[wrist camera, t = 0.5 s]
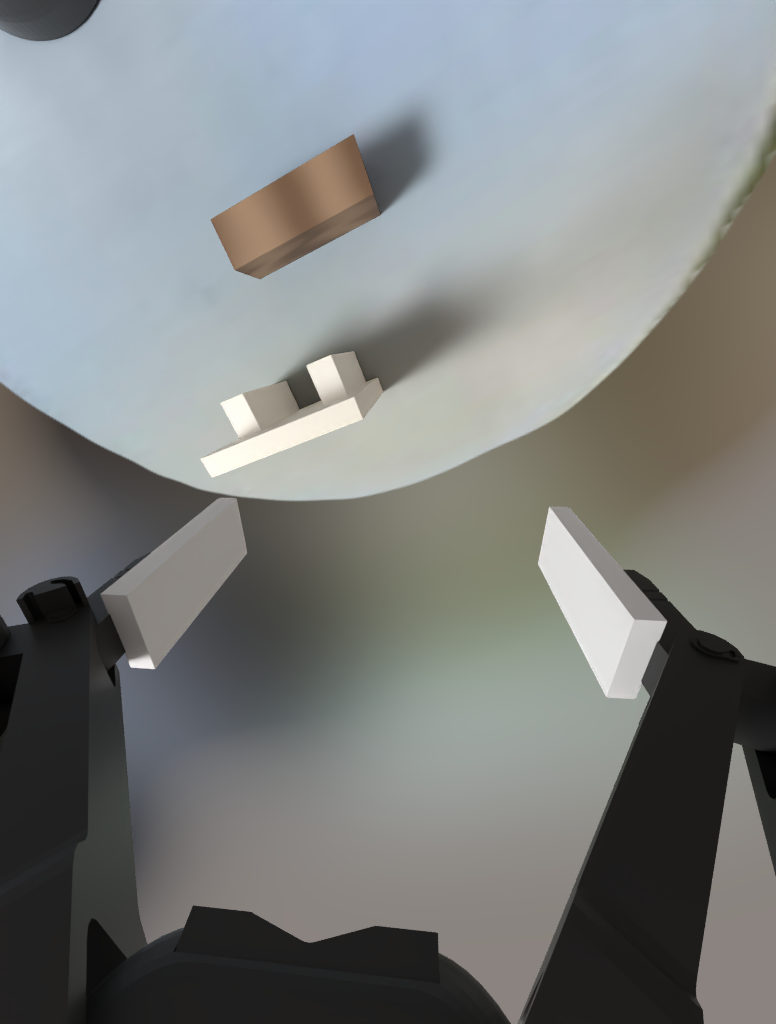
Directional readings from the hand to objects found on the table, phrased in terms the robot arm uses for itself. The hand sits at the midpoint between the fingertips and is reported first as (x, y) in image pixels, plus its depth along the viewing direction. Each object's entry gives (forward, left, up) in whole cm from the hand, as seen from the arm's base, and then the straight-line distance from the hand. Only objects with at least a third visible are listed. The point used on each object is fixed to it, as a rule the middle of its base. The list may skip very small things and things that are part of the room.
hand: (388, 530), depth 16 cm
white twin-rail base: (-6, -7, -24) cm, 26 cm away
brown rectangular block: (-18, -2, -25) cm, 31 cm away
